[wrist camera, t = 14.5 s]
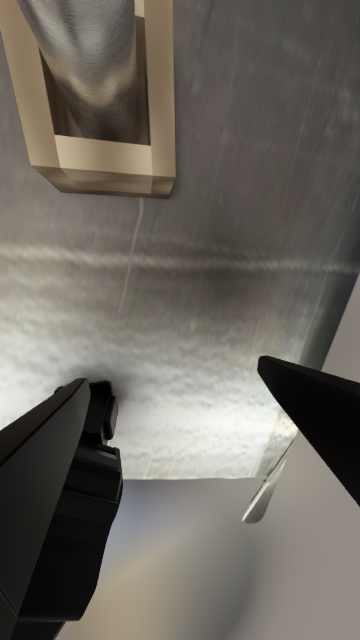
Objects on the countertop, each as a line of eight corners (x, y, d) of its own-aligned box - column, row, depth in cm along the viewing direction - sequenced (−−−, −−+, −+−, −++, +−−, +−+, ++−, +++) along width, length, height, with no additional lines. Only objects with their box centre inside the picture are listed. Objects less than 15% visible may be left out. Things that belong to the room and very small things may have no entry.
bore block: (61, 192, 16) (30, 165, 12) (31, 35, 13) (-24, -77, 9) (168, 198, 18) (175, 177, 13) (164, 63, 15) (172, -19, 11)
